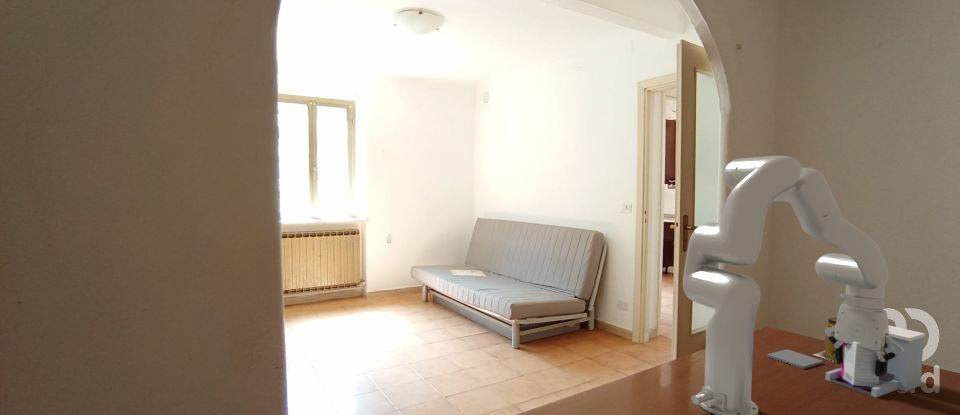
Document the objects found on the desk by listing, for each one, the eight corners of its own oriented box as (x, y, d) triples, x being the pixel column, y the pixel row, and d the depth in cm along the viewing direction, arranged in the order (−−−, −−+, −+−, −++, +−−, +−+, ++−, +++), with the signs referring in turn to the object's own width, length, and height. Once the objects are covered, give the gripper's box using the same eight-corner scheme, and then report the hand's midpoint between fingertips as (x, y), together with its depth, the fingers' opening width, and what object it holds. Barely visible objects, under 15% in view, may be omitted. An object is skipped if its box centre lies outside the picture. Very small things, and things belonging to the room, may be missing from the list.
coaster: (803, 369, 126) (803, 366, 125) (767, 356, 134) (767, 354, 134) (823, 363, 130) (823, 360, 130) (786, 351, 139) (787, 349, 139)
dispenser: (884, 400, 107) (888, 344, 107) (818, 377, 120) (820, 327, 120) (922, 385, 116) (925, 333, 115) (855, 365, 129) (858, 318, 128)
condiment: (845, 365, 129) (847, 324, 128) (812, 355, 136) (813, 316, 136) (857, 360, 132) (859, 321, 132) (824, 351, 140) (826, 313, 139)
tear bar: (870, 395, 110) (870, 393, 110) (830, 381, 118) (830, 379, 118) (871, 395, 110) (872, 392, 110) (831, 380, 118) (831, 378, 118)
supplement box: (879, 390, 112) (882, 345, 112) (852, 387, 114) (855, 343, 113) (864, 380, 118) (867, 338, 118) (839, 378, 119) (841, 336, 119)
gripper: (818, 295, 121) (814, 359, 122) (900, 312, 105) (895, 385, 106) (833, 293, 124) (829, 355, 125) (915, 309, 109) (910, 380, 110)
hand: (859, 368), depth 116 cm, fingers closed on supplement box, 7 cm apart
